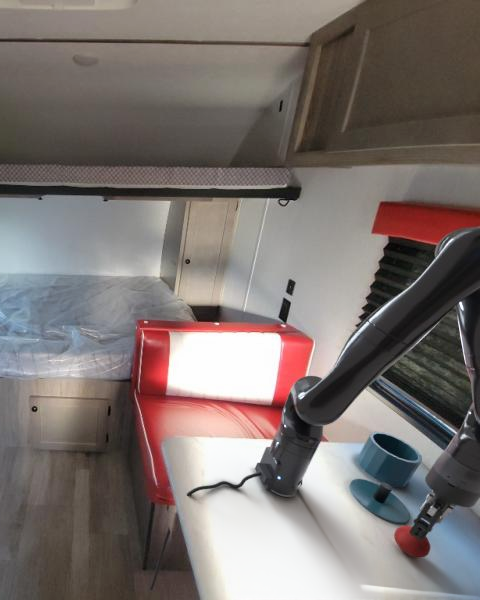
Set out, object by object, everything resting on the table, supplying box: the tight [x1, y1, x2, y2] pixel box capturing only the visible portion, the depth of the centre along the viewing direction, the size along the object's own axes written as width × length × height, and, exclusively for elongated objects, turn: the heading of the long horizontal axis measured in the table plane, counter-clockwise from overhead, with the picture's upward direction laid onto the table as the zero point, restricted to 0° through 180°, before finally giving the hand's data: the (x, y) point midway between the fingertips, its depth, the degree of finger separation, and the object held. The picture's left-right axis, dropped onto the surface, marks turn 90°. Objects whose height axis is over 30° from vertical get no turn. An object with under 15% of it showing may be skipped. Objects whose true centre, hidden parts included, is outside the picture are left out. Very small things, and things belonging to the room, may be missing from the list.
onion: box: [393, 525, 431, 559], centre depth 77 cm, size 6×6×8 cm
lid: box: [349, 478, 410, 525], centre depth 89 cm, size 13×13×6 cm
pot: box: [356, 431, 423, 488], centre depth 99 cm, size 12×12×10 cm
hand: (422, 528), depth 75 cm, fingers open, 8 cm apart
